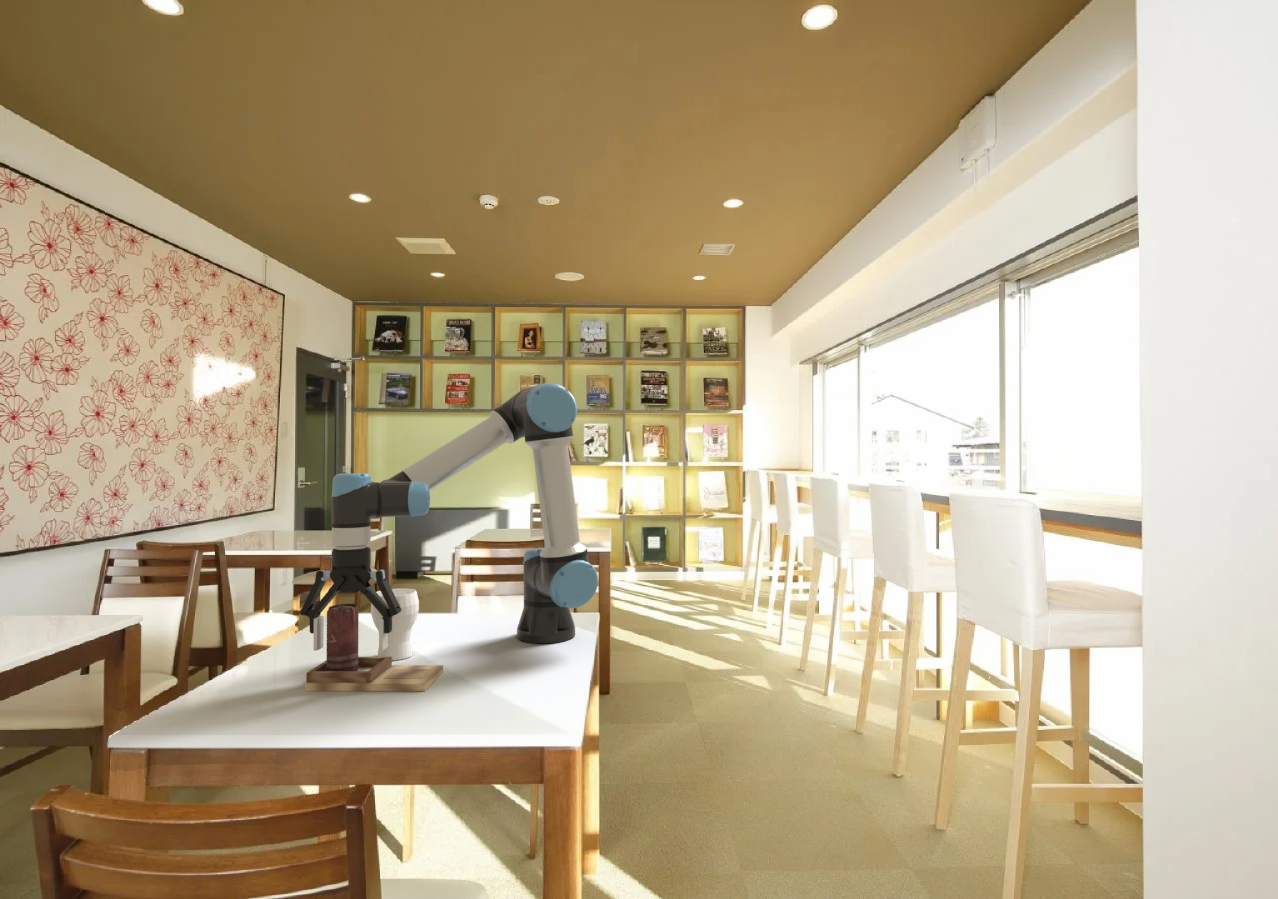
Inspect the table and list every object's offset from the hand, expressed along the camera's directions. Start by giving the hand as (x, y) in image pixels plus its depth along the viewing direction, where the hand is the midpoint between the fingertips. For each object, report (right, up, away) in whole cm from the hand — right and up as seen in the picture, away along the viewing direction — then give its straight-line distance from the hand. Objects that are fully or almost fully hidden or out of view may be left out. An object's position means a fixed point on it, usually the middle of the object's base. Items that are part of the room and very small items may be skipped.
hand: (350, 649), depth 140 cm
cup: (+3, -7, +18) cm, 19 cm away
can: (-2, -5, 0) cm, 6 cm away
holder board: (+5, -7, 0) cm, 9 cm away
